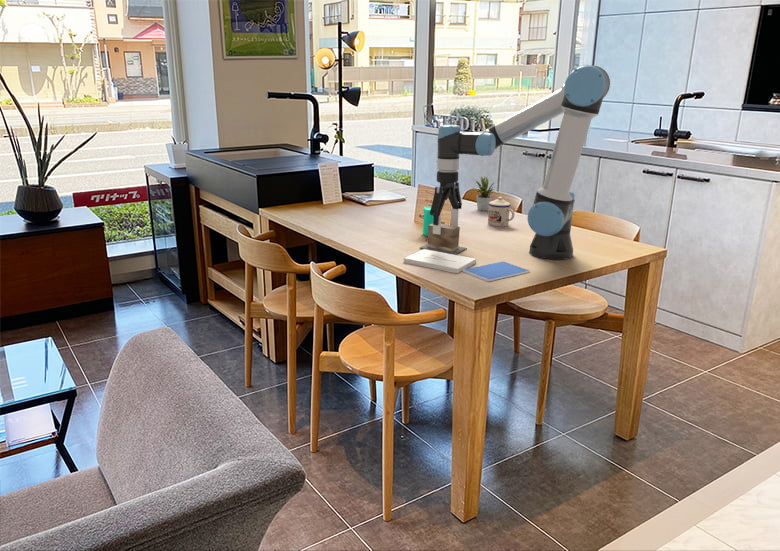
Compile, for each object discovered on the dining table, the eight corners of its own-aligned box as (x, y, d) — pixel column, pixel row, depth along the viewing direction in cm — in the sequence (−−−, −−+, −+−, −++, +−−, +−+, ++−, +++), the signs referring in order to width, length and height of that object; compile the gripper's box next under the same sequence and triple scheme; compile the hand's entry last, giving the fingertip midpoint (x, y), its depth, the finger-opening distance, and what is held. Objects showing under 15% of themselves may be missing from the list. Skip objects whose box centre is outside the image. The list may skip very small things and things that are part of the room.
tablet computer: (503, 264, 215) (503, 260, 215) (531, 274, 206) (531, 270, 205) (461, 273, 204) (461, 269, 204) (488, 284, 195) (489, 279, 194)
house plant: (461, 206, 302) (463, 172, 296) (487, 205, 306) (490, 171, 301) (473, 212, 289) (476, 177, 284) (501, 211, 293) (504, 176, 288)
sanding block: (458, 248, 229) (459, 226, 226) (452, 251, 224) (453, 229, 222) (433, 243, 233) (434, 222, 231) (427, 246, 229) (428, 225, 227)
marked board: (475, 263, 213) (476, 258, 213) (457, 273, 202) (457, 268, 201) (423, 253, 223) (424, 248, 223) (403, 262, 212) (403, 257, 211)
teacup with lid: (482, 223, 268) (485, 196, 265) (495, 220, 275) (497, 194, 271) (506, 229, 261) (509, 201, 257) (518, 225, 267) (521, 198, 263)
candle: (420, 232, 251) (421, 203, 247) (434, 232, 253) (435, 202, 249) (426, 236, 245) (427, 206, 242) (440, 235, 247) (442, 205, 244)
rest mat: (466, 249, 230) (466, 247, 229) (454, 255, 221) (454, 254, 221) (432, 242, 237) (432, 241, 236) (419, 248, 228) (419, 247, 228)
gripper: (454, 165, 232) (451, 222, 239) (420, 174, 212) (419, 235, 218) (472, 167, 228) (470, 224, 235) (440, 176, 208) (438, 238, 215)
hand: (445, 230), depth 227 cm, fingers open, 13 cm apart
